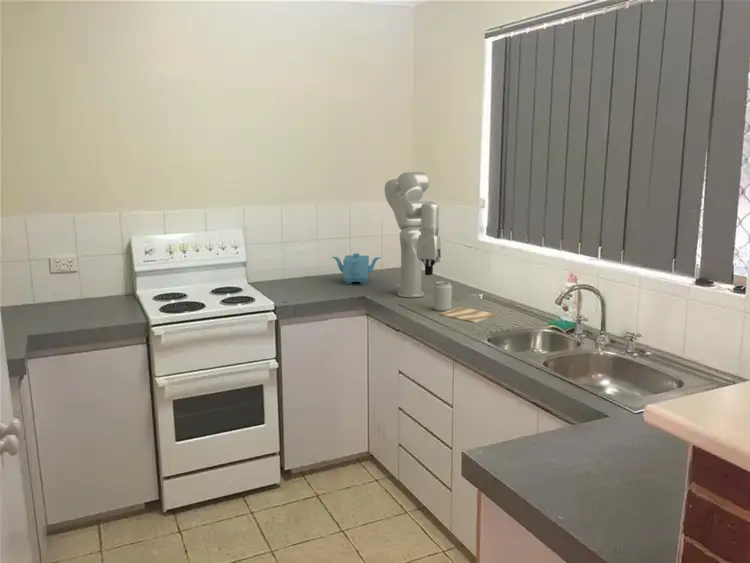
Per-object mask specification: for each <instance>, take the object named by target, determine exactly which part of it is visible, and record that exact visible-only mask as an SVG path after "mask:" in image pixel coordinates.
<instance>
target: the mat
mask: <svg viewBox="0 0 750 563" xmlns="http://www.w3.org/2000/svg"><path fill="white" fill-rule="evenodd" d="M438 316H443V317H447V318H452V319H455V318H457V320H460V319H461V320H460V321H464V320H465V322H469V321H470V322H469V323H473V322H474V324H475V323H476V324H477V323H478V322H483V321H485V320H487V319H491V318H494V317H497V316H498V314H497V313H493V312H488V311H483V310H478V309H473V308H468V307H464V306H459V307H456V308H451V309H450V310H449V311H441V312H439V313H438Z"/></svg>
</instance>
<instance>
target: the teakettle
mask: <svg viewBox="0 0 750 563" xmlns="http://www.w3.org/2000/svg"><path fill="white" fill-rule="evenodd" d="M332 258H333V259H334V260H335V261H336V263H337V266H338V269H339V270H340V272H341V273H343V274H342V275H343V277H342V278H343V282H345V285H352V283H353V282H358V283H359V285H361V286H362V285H364V286H365V285H366V284H367V283H368V281H369V274H371V273H372V272H373V271H374V269H375V266H376V263H377V261H378V260H380V259H382V257H377V256H376V257H374V258H373V259H372V262H371V264H370V260H369V259H370V256H369V255H360V253H358V252H357V253H353V254H352V255H350V254H349V255H348V254H346V255H345V256H344V258H343V262H341V259H340V258H339V257H338V256H332ZM342 263H343V264H342Z"/></svg>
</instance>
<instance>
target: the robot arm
mask: <svg viewBox="0 0 750 563" xmlns="http://www.w3.org/2000/svg"><path fill="white" fill-rule="evenodd" d="M429 187H430V178H429V176H428V175H427V173H425V172H423V171H418V172H417V171H412V172H411V171H408V172H407V171H405V172H403V173H401V174H399V176H398V178H393V179H390V180H388V181H386V182H385V184H384V195H385V199H386V201H387V203H388V205H389V207H390V208H391V210H392V211H393V214H394V217H395V220H396V223H397V226H398V228H399V229H400V232H399V242H400V243H399V244H400V283H396V284H395V286H394V288H395V289H398V291H397V293H396V295H397V296H398V297H401V298H408V299H409V298H412V299H413V298H415V299H416V298H421V297H424V296H425V292H424V291H423V290H422V276H423V275H422V274H423V273H422V269H423V268H422V264H423V266H424V273H425V276H433V270H434V268H433V267H434V266H435V264H436V263H440V262H441V257H442V247H441V245H442V244H441V237H440V235H439V227H440V226H439V219H440V218H439V215H440V206H439V204H438V203H436V202H434V201H431V200H430V201H428V200H427V201H426V200H425V201H424V200H423V201H421V199H422V198H423V196H424V192H425V193H426V191H427V190H428V189H429Z"/></svg>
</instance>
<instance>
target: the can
mask: <svg viewBox="0 0 750 563" xmlns="http://www.w3.org/2000/svg"><path fill="white" fill-rule="evenodd" d="M452 294H453V286H452V285H451V282H450V281H448V280H447V281H443V280H442V281H441V280H440V281H436V282H435V284H434V286H433V309H434V310H435V311H438V312H446V311H449V310H452V300H453V298H452V297H453V296H452Z"/></svg>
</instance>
